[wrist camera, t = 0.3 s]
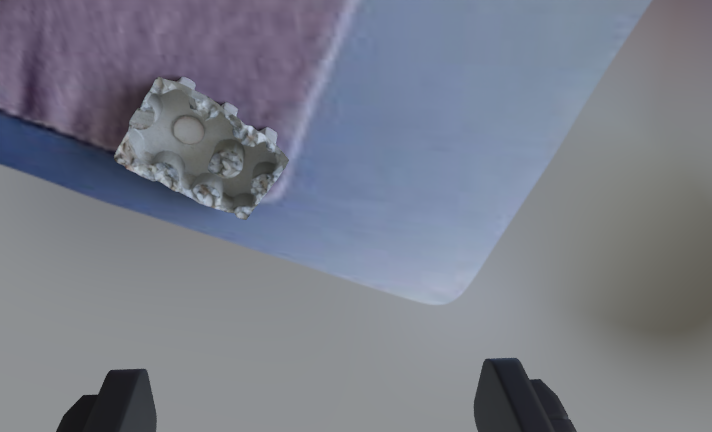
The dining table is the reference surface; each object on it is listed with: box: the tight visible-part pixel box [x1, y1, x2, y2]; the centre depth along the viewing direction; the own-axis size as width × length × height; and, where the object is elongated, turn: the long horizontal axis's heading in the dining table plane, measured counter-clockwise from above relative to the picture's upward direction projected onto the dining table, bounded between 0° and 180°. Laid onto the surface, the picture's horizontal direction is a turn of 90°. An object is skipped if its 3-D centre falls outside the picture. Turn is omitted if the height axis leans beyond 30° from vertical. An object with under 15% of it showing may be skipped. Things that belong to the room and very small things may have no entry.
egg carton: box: [114, 77, 289, 220], centre depth 37 cm, size 11×8×4 cm
